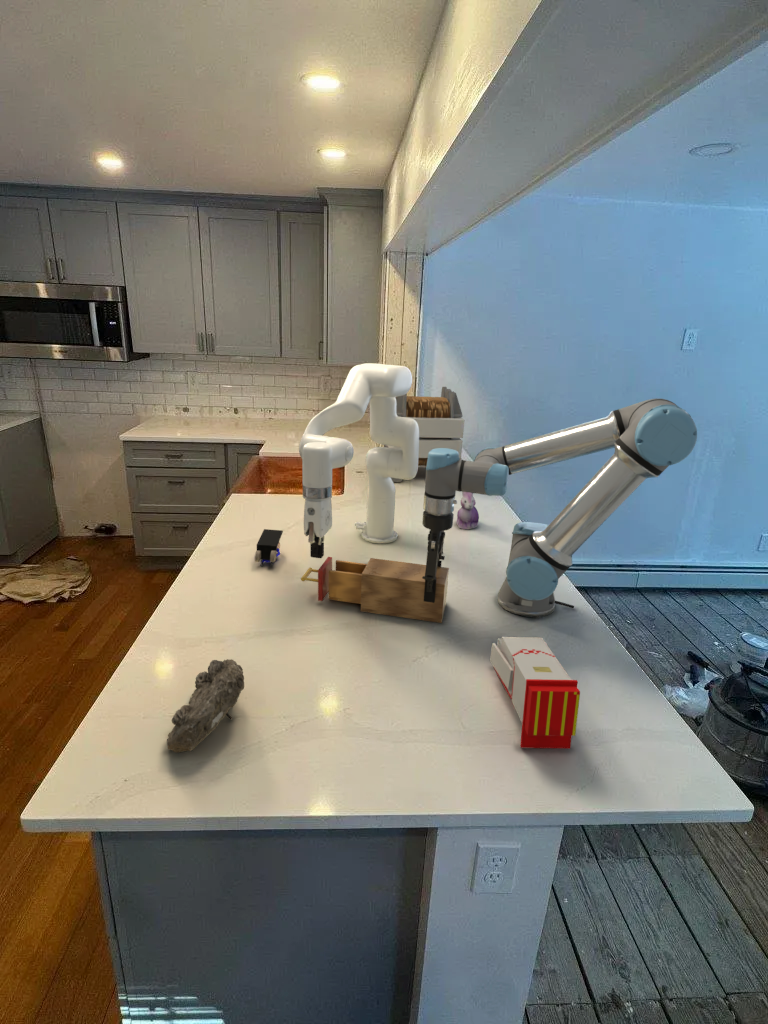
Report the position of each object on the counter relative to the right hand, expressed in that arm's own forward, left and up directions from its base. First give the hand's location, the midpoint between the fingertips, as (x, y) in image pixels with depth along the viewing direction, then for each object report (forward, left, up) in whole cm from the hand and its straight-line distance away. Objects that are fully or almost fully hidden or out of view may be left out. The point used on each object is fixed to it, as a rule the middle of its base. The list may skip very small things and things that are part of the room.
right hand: (431, 591), depth 147 cm
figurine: (-28, -61, -6) cm, 68 cm away
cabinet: (+7, -2, -6) cm, 9 cm away
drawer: (+21, -8, -5) cm, 23 cm away
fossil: (+51, +36, -6) cm, 63 cm away
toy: (-12, +37, -6) cm, 39 cm away
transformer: (-25, -131, -6) cm, 134 cm away
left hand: (+29, -11, +6) cm, 32 cm away
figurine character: (+43, -35, -6) cm, 56 cm away
